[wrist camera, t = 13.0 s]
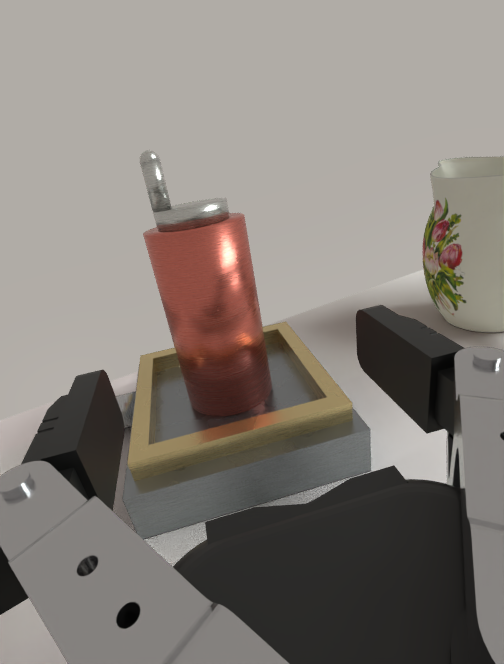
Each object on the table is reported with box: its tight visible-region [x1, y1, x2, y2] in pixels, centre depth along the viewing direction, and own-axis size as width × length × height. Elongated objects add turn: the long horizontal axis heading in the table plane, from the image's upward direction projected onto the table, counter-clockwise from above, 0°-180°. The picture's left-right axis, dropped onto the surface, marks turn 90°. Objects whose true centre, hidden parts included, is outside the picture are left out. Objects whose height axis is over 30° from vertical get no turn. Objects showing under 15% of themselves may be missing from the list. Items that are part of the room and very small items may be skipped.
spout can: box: [140, 151, 272, 416], centre depth 22 cm, size 6×6×15 cm
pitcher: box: [423, 157, 504, 333], centre depth 31 cm, size 11×18×14 cm, turn 5°
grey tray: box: [116, 322, 371, 539], centre depth 25 cm, size 16×14×4 cm
